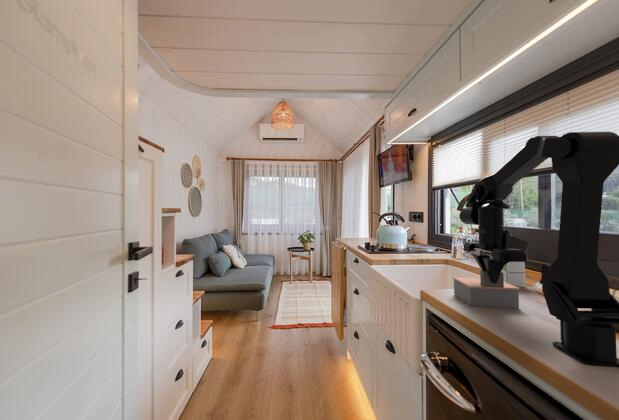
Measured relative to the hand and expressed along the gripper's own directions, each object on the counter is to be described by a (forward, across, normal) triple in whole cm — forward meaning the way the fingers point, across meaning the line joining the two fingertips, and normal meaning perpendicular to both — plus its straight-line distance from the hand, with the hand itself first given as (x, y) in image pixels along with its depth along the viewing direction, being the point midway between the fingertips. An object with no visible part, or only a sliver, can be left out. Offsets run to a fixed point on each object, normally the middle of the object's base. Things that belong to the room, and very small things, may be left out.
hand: (491, 282), depth 68 cm
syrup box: (+7, +24, -20) cm, 32 cm away
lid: (+1, +4, 0) cm, 4 cm away
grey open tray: (+6, +4, 0) cm, 8 cm away
